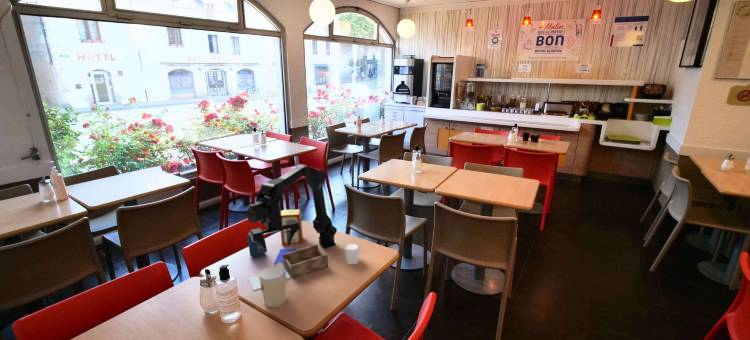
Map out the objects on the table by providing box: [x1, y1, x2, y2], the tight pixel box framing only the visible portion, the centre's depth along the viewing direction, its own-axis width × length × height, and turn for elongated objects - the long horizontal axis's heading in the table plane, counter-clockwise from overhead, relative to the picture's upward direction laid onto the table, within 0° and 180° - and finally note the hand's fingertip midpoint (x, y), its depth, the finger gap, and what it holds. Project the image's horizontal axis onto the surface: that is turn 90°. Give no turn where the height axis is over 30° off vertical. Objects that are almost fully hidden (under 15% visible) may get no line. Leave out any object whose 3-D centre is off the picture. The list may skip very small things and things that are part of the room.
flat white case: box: [247, 263, 292, 292], centre depth 141 cm, size 15×9×5 cm, turn 122°
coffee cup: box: [258, 265, 287, 308], centre depth 127 cm, size 9×9×12 cm
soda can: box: [247, 230, 266, 259], centre depth 159 cm, size 7×7×12 cm
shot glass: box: [343, 242, 361, 265], centre depth 153 cm, size 7×7×7 cm
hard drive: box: [273, 248, 298, 266], centre depth 158 cm, size 2×8×12 cm
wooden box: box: [283, 243, 329, 280], centre depth 149 cm, size 16×11×6 cm
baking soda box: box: [280, 208, 304, 246], centre depth 170 cm, size 10×6×16 cm
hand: (277, 248), depth 141 cm, fingers open, 9 cm apart
